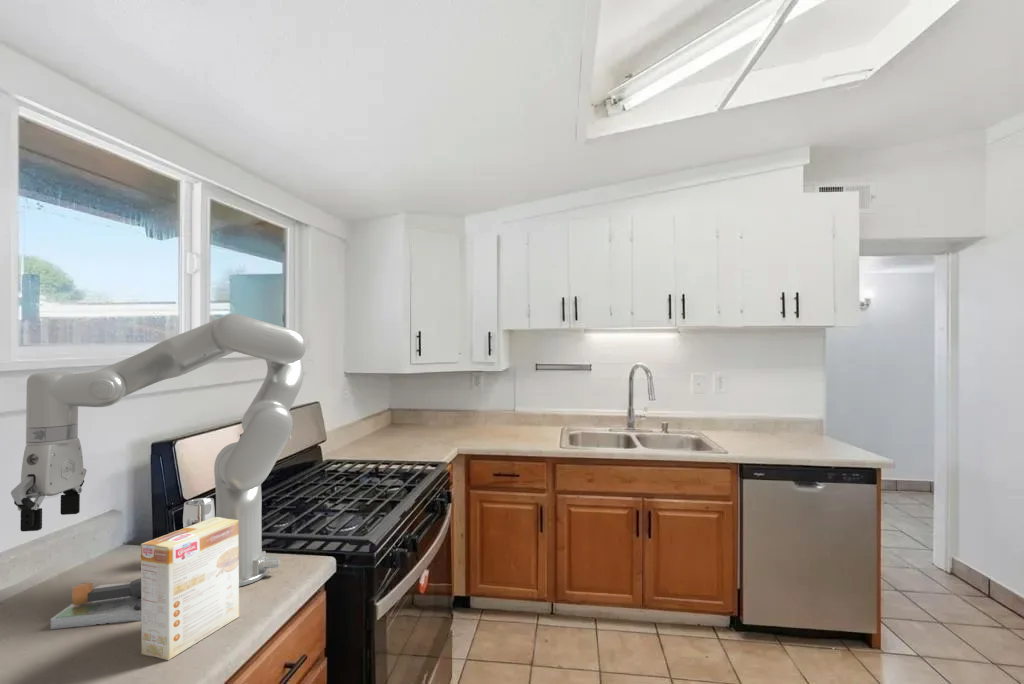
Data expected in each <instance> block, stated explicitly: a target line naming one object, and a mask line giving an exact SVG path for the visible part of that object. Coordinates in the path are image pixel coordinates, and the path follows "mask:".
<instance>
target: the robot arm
mask: <svg viewBox="0 0 1024 684" xmlns="http://www.w3.org/2000/svg"><path fill="white" fill-rule="evenodd" d="M306 345H307V344H306V340H305V338H304V337H303V336H302V335H301V334H300V333H299V332H298V331H296V330H294V329H291V328H288V327H284V326H282V325H277V324H274V323H270V322H266V321H263V320H260V319H257V318H253V317H251V316H250V317H249V316H246V315H244V314H237V313H232V314H231V313H230V314H227V315H224V316H222V317H219V318H217V319H214V320H212V321H209V322H207V323H205V324H202V325H200V326H197V327H194V328H193V329H190V330H187V331H184V332H182V333H179V334H177V335H174V336H172V337H170V338H167V339H165V340H163V341H160V342H158V343H156V344H155V345H153V346H152V347H150V348H148V349H146V350H144V351H141V352H139V353H137V354H134V355H132V356H130V357H127V358H125V359H123V360H119V361H118V362H115V363H113V364H110V365H108V366H106V367H102V368H100V369H98V370H94V371H88V372H87V371H86V372H79V373H73V372H69V371H68V372H67V371H65V372H64V371H61V372H60V371H56V372H39V373H37V372H36V373H33V374H30V375H29V376H28V378H27V380H26V405H25V406H26V409H25V411H26V412H25V413H26V414H25V415H26V416H25V419H26V420H25V447H24V453H23V456H22V457H23V458H22V463H21V471H20V483H18V484H17V485H16V486H15V487H14V488H13V489H12V490H11V491H10V495H11V497H12V499H13V501H14V502H13V503H14V505H15V506H16V507H17V511H20V532H36V531H37V532H38V531H41V530H42V528H43V508H42V507H41V508H40V506H41V504H42V503H43V501H44V498H45V497H52V496H55V495H59V494H60V515H62V516H65V515H77V514H79V513H80V511H81V510H80V509H81V508H80V506H81V504H80V502H81V499H80V498H81V497H80V495H81V493H82V492H83V489H82V487H83V485H84V483H85V477H86V475H87V469H86V468H84V460H83V457H84V456H83V449H82V445H81V442H80V441H81V440H80V438H79V437H78V436H79V434H78V433H79V429H78V427H79V426H78V425H79V407H81V408H82V407H84V408H85V407H86V408H87V407H88V408H107V407H110V406H114V405H115V404H117V403H118V402H119V401H120V400H122V399H123V398H124V397H126V396H129V395H131V394H133V393H135V392H137V391H138V392H139V391H140V390H143V389H145V388H146V387H150V386H151V385H153V384H157V383H159V382H162V381H165V380H168V379H172V378H177V377H178V378H179V377H180V376H183V375H186V374H188V373H191V372H193V371H195V370H197V369H199V368H201V367H203V366H207V365H208V364H210V363H212V362H214V361H218V360H219V359H222V358H224V357H226V356H228V355H231V354H232V353H238V354H242V355H247V356H249V357H253V358H259V359H262V360H264V361H265V362H266V366H267V370H266V376H265V378H264V380H263V382H262V383H261V386H260V388H259V390H258V392H257V393H256V395H255V397H254V398H253V400H252V401H251V403H250V405H249V406H248V408H247V409H246V411H245V412H244V414H243V416H242V420H241V428H242V431H243V432H242V434H241V435H240V437H239V439H238V441H236V442H232V443H230V444H227V445H225V446H224V447H223V448H222V449H221V450H220V451H218V452H219V453H218V454H217V455H216V457H215V461H214V465H213V466H214V467H213V468H214V469H213V472H214V473H213V474H214V485H215V486H214V488H215V517H221V518H226V519H234V520H239V521H238V549H239V587H243V586H247V585H250V584H252V583H256V582H257V581H259V580H261V579H263V578H264V577H266V575H268V573H269V572H270V571H269V570H270V569H276V568H280V566H281V559H280V558H278V556H267V555H266V550H263V549H262V547H263V546H262V545H263V544H262V542H263V541H262V540H263V539H262V538H263V537H262V532H263V531H262V527H263V526H262V509H263V508H262V505H263V503H262V498H263V497H262V484H263V482H265V481H266V480H267V478H268V476H269V474H270V473H271V471H272V470H273V468H274V466H275V465H276V463H277V460H278V459H279V457H280V455H281V453H282V451H283V450H284V448H285V446H286V444H287V442H288V440H289V438H290V437H291V434H292V430H293V425H294V424H293V423H294V422H293V421H294V420H293V417H292V416H293V415H292V414H291V413H290V411H291V409H292V406H293V405H294V403H295V401H296V398H297V396H298V394H299V392H300V390H301V387H302V385H303V381H304V366H303V360H302V358H303V356H304V355H305V353H306V349H307V346H306ZM32 499H34V501H33V500H32Z"/></svg>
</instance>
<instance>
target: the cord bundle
mask: <svg viewBox="0 0 1024 684" xmlns="http://www.w3.org/2000/svg"><path fill="white" fill-rule="evenodd" d="M140 609H141V601H140V602H138V603H137V604H136V605H135V606H134V610H136V611H138V610H140Z"/></svg>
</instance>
